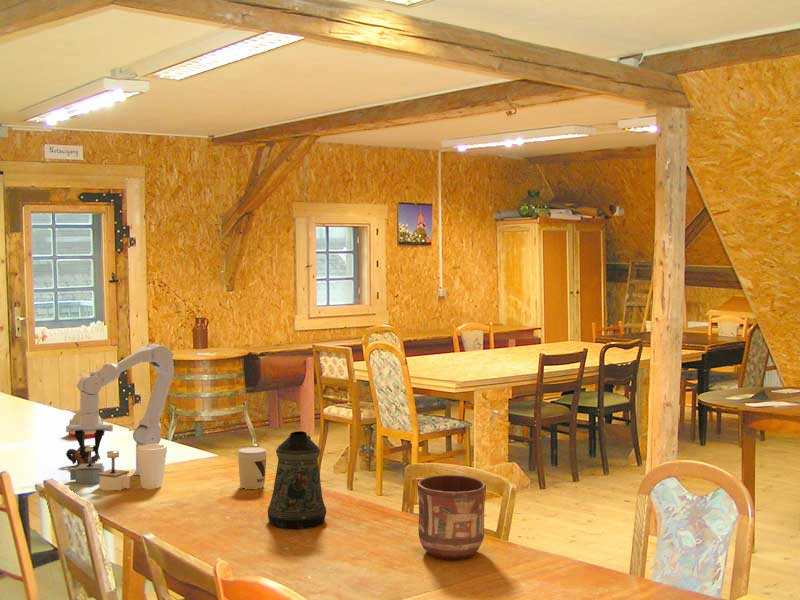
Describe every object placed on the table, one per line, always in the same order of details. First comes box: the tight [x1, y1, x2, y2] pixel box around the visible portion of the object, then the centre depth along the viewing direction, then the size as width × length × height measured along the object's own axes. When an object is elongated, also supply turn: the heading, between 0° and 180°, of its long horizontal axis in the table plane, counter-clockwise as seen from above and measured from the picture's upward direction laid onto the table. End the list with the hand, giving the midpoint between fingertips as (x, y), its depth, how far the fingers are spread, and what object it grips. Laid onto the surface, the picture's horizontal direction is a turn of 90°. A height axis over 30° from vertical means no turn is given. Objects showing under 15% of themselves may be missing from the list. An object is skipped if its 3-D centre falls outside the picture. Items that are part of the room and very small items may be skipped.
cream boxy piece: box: [97, 468, 131, 491], centre depth 304 cm, size 10×8×5 cm
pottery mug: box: [65, 444, 101, 467], centre depth 335 cm, size 12×10×8 cm
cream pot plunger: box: [106, 450, 120, 473], centre depth 304 cm, size 4×4×7 cm
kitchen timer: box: [68, 409, 105, 439], centre depth 391 cm, size 14×14×15 cm
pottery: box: [416, 474, 487, 561], centre depth 241 cm, size 18×18×18 cm
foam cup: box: [135, 443, 168, 490], centre depth 306 cm, size 10×9×13 cm
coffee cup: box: [237, 446, 268, 490], centre depth 307 cm, size 9×9×12 cm
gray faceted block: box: [69, 462, 105, 485], centre depth 313 cm, size 10×8×5 cm
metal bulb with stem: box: [84, 444, 95, 467], centre depth 313 cm, size 4×4×7 cm
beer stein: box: [267, 430, 327, 531], centre depth 269 cm, size 16×19×25 cm
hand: (89, 453), depth 313 cm, fingers closed on metal bulb with stem, 4 cm apart
